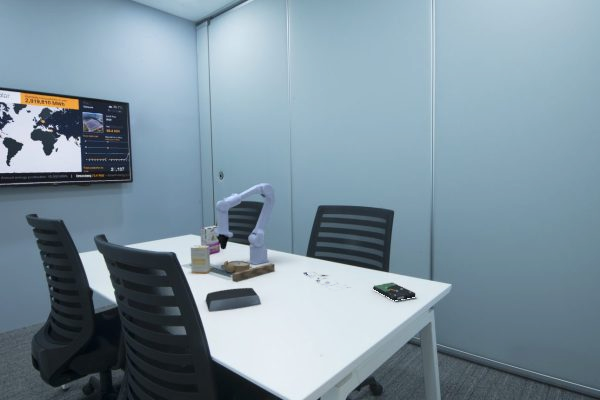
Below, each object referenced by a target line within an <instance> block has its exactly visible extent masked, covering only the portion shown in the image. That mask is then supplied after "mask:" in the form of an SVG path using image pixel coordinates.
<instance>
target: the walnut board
mask: <svg viewBox="0 0 600 400" xmlns="http://www.w3.org/2000/svg"><path fill="white" fill-rule="evenodd" d="M275 268H276V267H275V264H274V263H268V264H264V265H259V266H255V267H252V268H250V269H248V270H244V271H240V272H233V273H231V274H232V275H231V277H232V282H234V283H235V282H236V283H237V282H241V281H244V280H248V279H251V278H255V277H258V276H262V275H266V274H270V273H272V272H276V271H275Z"/></svg>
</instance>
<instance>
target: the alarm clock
mask: <svg viewBox="0 0 600 400" xmlns="http://www.w3.org/2000/svg"><path fill="white" fill-rule="evenodd" d="M250 265H251V263H248V262H247V261H243V260H232V261H229V260H226V261H224V262H223V264H222V265H220V269H222V270H225V271H226V272H227V273H229V274H230V273H231V274H232V273H236V272H240V271H244V270H248V269H251V268H253V267H252V266H250Z"/></svg>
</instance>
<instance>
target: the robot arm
mask: <svg viewBox="0 0 600 400" xmlns="http://www.w3.org/2000/svg"><path fill="white" fill-rule="evenodd" d="M257 194H259V195H260V196H261V197H262V199H263V201H264V202H263V205H262V209H261V212H260V214H259V217H258V218H257V219H258V220H257V222H256V225H255V228H254V229H253V230H252V232H251V233H250V234H249V236H248V242H249V243H250V244H249V260H247V261H246V262H248V263H250V265H251V264H252V265H259V264H263V263H264V264H265V263H267V262H268V263H269V260H268V249H267V246H266V245H264V243H265V235H266V234H265V230H266V227H267V224H268V222H269V219H270V217H271V214H272V211H273V208H274V205H275V201H276V197H275V189H274V187H273V185H272V184H271V183H264V182H261V183H259V184H256V185H253V186H252V187H250V188H248V189H246V190H244V191H243V192H241V193H239V194H238V193H231V195H230V196H228V197H223V200H219V201H216V204H215V209H216V210H217V211H216V213H217V214H216V217H217V218H216V223H217V225H216V226H217V230H214V234H219V236H217V239H218V241H219V243H220V249H221V250H226V249H227V245H228V241H229V239H230V238H232V237H234V233H233V232H231V231H230V230H229V210H230V209H232V208H233V207H236V206H238V205H239V204H241V203H242V200H245V199H247V198H249V197H250V196H253V195H257Z"/></svg>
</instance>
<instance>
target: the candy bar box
mask: <svg viewBox="0 0 600 400" xmlns="http://www.w3.org/2000/svg"><path fill="white" fill-rule="evenodd" d="M214 230H217V225H210V226H205V227H201V228H200V246H209V252H210V255H213V254H217V253H220V252H221V251H220V249H221V247H220V243H219V241H218V239H217V236H219V234H214Z"/></svg>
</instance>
